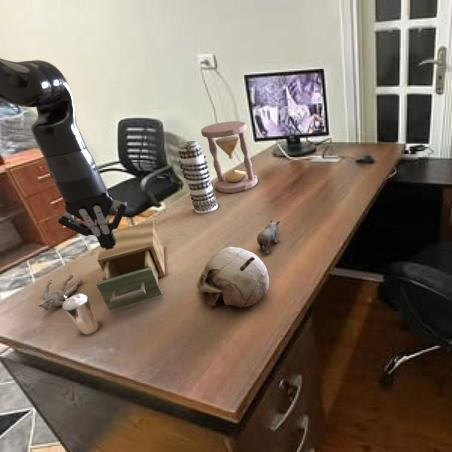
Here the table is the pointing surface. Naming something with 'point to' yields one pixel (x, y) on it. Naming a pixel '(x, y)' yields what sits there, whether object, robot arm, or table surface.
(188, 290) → the table surface
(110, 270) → the drawer
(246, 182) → the hourglass
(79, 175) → the robot arm
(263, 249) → the rhino figurine
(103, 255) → the cabinet
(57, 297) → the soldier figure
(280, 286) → the table surface
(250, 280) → the coin bank
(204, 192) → the leaning tower model
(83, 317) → the milkshake
